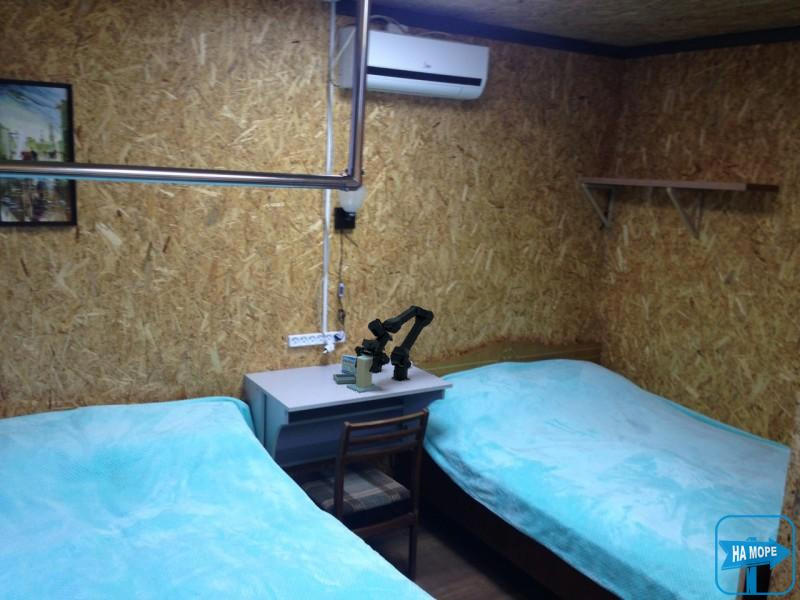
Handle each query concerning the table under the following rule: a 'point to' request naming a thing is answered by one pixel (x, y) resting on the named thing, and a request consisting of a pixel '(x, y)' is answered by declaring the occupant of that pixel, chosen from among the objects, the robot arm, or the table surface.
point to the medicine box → (349, 364)
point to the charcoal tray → (345, 378)
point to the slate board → (359, 389)
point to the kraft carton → (364, 371)
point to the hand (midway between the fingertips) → (362, 369)
